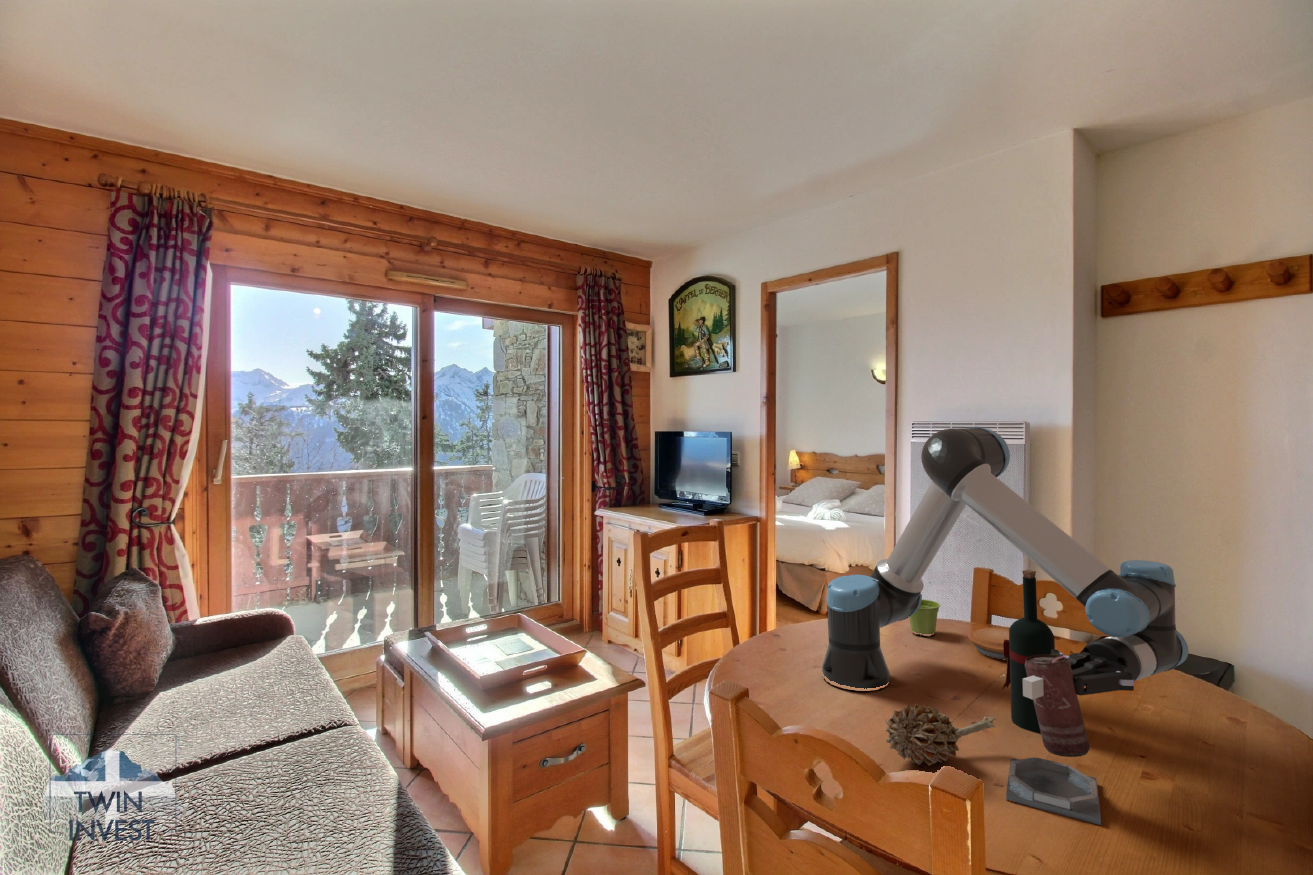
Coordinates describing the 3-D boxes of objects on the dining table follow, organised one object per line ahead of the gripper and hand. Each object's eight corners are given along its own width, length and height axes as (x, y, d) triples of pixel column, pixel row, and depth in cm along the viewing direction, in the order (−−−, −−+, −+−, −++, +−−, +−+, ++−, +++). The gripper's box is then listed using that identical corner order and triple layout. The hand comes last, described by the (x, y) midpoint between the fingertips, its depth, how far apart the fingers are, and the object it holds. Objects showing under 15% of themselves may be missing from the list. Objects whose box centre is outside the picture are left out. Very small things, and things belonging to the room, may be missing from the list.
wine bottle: (1018, 706, 125) (1013, 562, 125) (1067, 727, 116) (1062, 572, 115) (991, 714, 122) (986, 567, 122) (1040, 736, 113) (1034, 577, 112)
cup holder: (1006, 800, 94) (1005, 786, 94) (1011, 763, 104) (1010, 750, 104) (1101, 825, 87) (1100, 810, 87) (1096, 783, 97) (1096, 770, 97)
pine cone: (911, 785, 99) (909, 725, 99) (873, 756, 108) (871, 701, 108) (1012, 758, 106) (1010, 702, 106) (968, 733, 115) (966, 681, 115)
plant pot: (899, 629, 175) (898, 599, 175) (930, 627, 175) (929, 597, 175) (915, 640, 165) (914, 609, 165) (948, 638, 166) (947, 606, 166)
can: (1101, 754, 91) (1077, 659, 93) (1058, 759, 91) (1035, 664, 93) (1077, 740, 97) (1055, 651, 99) (1037, 745, 97) (1016, 656, 99)
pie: (981, 638, 165) (980, 620, 165) (1046, 652, 154) (1045, 632, 154) (959, 653, 155) (958, 634, 155) (1026, 669, 143) (1026, 649, 143)
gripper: (1162, 696, 97) (1071, 731, 87) (1077, 668, 109) (989, 696, 99) (1160, 650, 97) (1070, 680, 87) (1076, 627, 109) (988, 651, 99)
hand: (1027, 688), depth 93 cm, fingers closed
